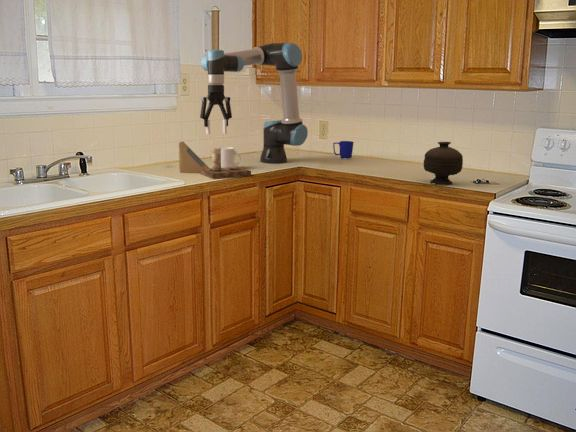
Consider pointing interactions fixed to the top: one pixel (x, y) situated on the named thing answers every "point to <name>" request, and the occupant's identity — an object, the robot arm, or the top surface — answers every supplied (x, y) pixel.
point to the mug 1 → (228, 157)
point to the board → (226, 172)
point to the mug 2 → (345, 149)
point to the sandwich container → (189, 160)
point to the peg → (216, 160)
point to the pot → (443, 162)
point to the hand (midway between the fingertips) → (216, 133)
